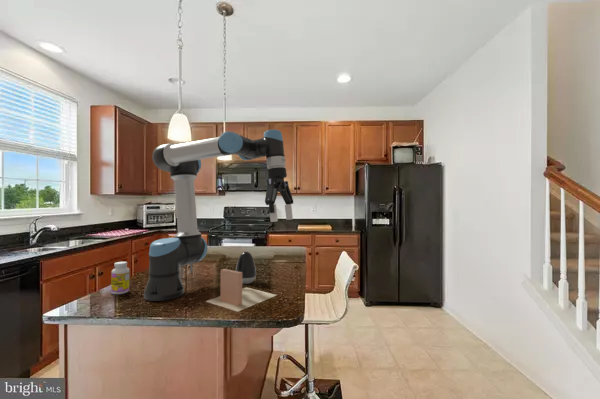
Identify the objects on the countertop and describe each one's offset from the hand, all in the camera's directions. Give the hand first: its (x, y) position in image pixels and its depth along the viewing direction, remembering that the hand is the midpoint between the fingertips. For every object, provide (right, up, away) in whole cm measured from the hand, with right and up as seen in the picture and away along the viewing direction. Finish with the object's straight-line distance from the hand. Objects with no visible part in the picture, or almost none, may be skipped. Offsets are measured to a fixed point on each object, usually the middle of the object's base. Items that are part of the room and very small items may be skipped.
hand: (282, 220), depth 112 cm
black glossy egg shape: (-20, -32, +25) cm, 45 cm away
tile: (-19, -31, -5) cm, 37 cm away
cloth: (-16, -32, 0) cm, 36 cm away
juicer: (-58, -32, +37) cm, 76 cm away
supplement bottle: (-71, -32, +9) cm, 78 cm away
